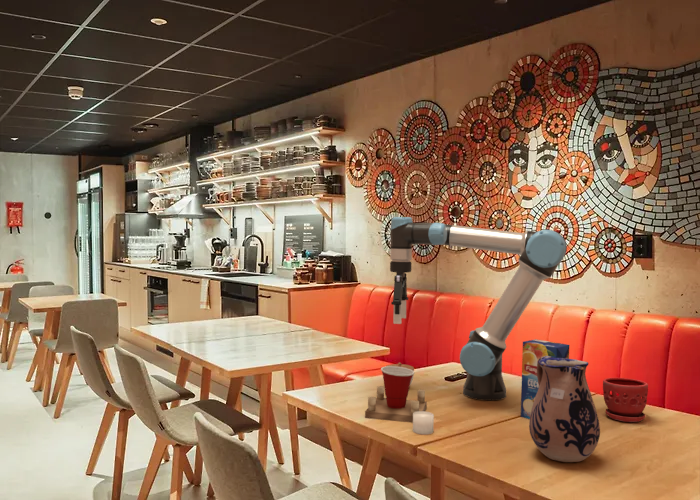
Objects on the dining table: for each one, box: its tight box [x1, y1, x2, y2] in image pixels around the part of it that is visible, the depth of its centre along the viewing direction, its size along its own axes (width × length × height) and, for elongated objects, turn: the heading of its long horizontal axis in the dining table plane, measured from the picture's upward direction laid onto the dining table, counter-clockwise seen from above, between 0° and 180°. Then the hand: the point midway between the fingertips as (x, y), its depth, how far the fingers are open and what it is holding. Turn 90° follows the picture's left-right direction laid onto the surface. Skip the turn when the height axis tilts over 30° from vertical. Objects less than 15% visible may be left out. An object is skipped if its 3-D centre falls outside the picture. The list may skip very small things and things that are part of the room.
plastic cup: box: [380, 365, 415, 409], centre depth 197 cm, size 11×11×12 cm
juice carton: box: [520, 338, 570, 420], centre depth 193 cm, size 12×8×24 cm, turn 41°
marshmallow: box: [412, 410, 435, 435], centre depth 179 cm, size 6×6×5 cm
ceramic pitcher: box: [528, 356, 601, 463], centre depth 162 cm, size 18×21×25 cm
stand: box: [364, 385, 428, 423], centre depth 197 cm, size 17×17×6 cm
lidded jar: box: [384, 362, 415, 386], centre depth 228 cm, size 11×11×9 cm
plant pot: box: [602, 377, 649, 423], centre depth 195 cm, size 13×13×12 cm
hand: (399, 320), depth 217 cm, fingers open, 13 cm apart
